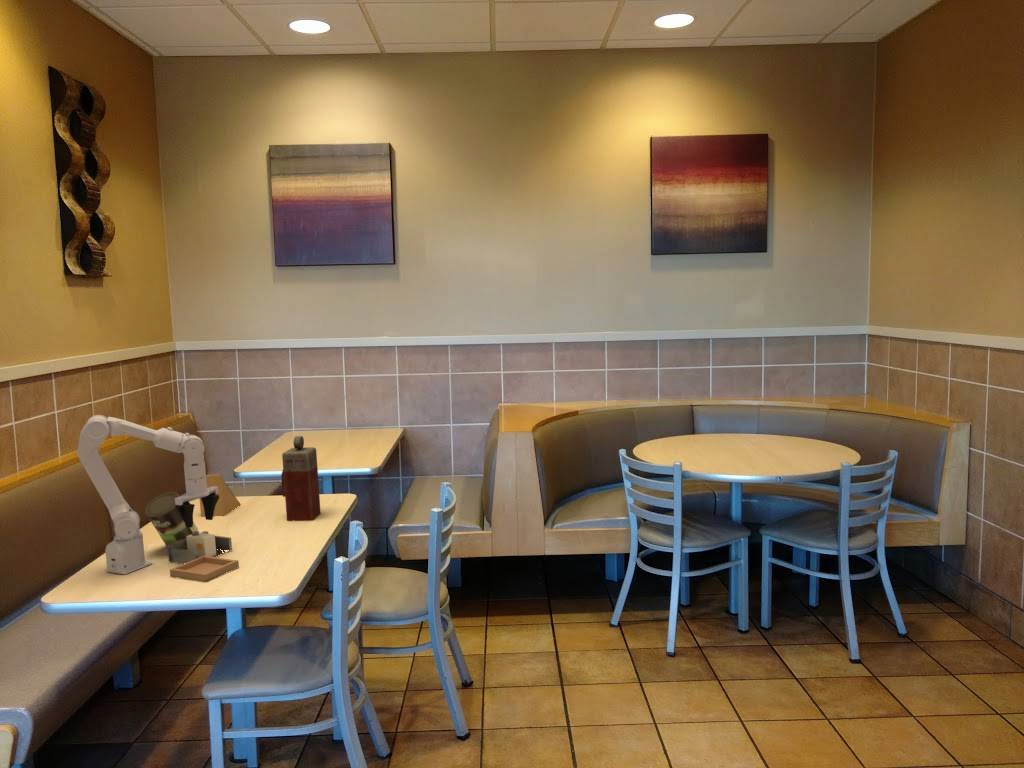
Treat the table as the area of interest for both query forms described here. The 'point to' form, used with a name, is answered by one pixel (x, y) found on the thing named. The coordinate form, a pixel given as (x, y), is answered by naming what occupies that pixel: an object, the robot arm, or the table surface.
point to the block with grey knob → (202, 543)
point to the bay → (182, 555)
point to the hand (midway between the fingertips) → (199, 523)
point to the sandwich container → (221, 496)
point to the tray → (204, 568)
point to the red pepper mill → (300, 482)
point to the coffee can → (168, 518)
